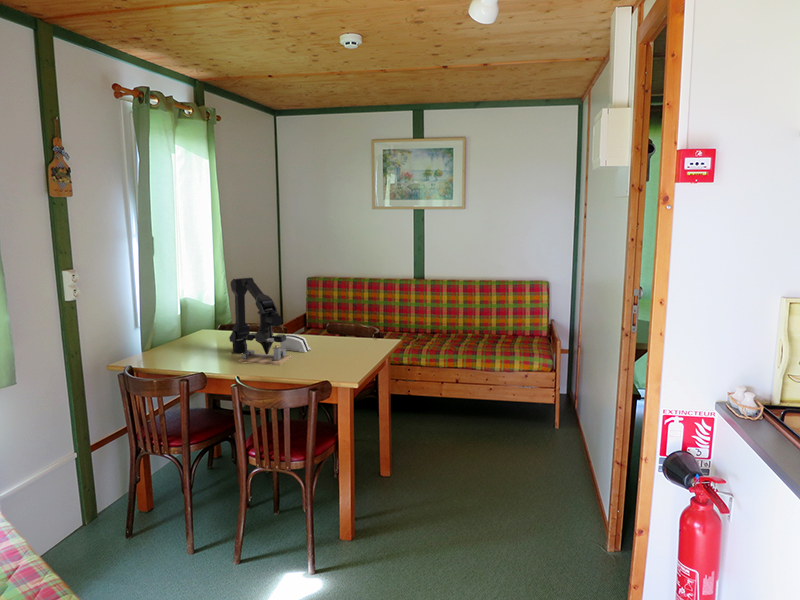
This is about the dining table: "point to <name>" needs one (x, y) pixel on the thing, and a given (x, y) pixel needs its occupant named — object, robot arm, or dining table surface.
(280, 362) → the brown wooden board
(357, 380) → the dining table surface
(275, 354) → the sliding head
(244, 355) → the rail
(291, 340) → the grey curved block
